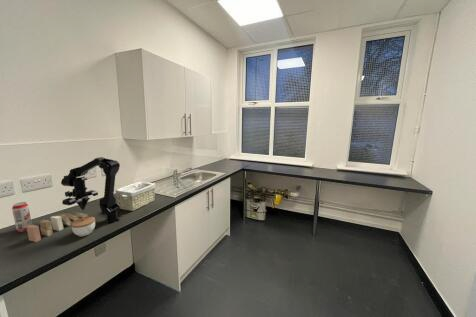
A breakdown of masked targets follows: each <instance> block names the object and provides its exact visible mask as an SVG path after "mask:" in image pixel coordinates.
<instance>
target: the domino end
mask: <svg viewBox="0 0 476 317" xmlns="http://www.w3.org/2000/svg"><path fill="white" fill-rule="evenodd" d="M26 232H27V237H28V241H30V242H35V243H38V242H39V241H41V240H42V239H41V237H42V236H41V233H40V232H41V231H40V225H35V224H32V225H29V226H27V231H26Z"/></svg>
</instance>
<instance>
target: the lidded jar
mask: <svg viewBox="0 0 476 317" xmlns="http://www.w3.org/2000/svg"><path fill="white" fill-rule="evenodd" d="M78 218H79V219H77V220H74V221H71V222H72V223H71V225H70V226H71V230H72V232H73V234H74V235H76V236H78V237H86V236H89V235H91V234H92V232H93V231H94V230H95V227H96V217H94V216H88V217H78Z"/></svg>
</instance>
